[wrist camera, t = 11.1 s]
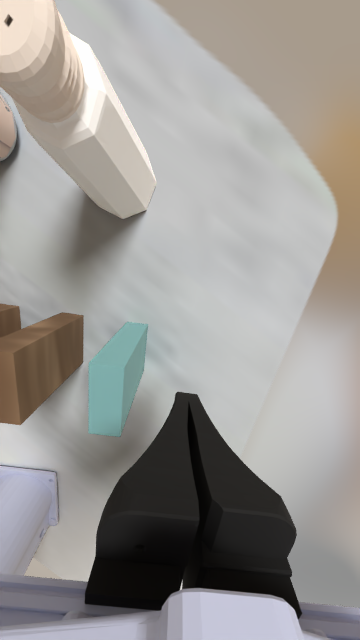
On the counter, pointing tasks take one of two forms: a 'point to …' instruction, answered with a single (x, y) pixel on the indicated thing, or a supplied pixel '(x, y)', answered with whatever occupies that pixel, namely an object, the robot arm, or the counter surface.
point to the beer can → (6, 129)
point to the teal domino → (116, 379)
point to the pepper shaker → (72, 107)
